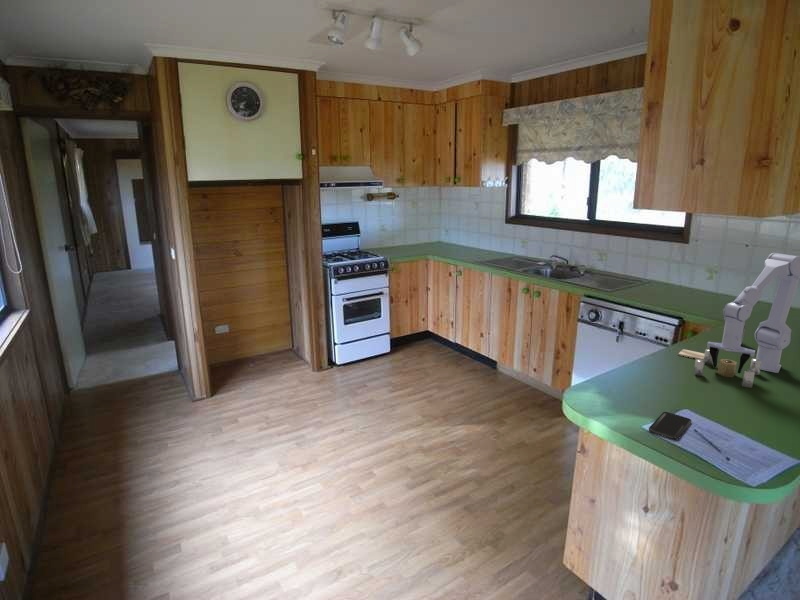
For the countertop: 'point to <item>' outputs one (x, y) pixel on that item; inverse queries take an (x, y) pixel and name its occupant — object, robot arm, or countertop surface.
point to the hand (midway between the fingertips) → (726, 369)
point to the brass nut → (727, 368)
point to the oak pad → (691, 354)
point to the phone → (670, 425)
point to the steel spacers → (748, 374)
